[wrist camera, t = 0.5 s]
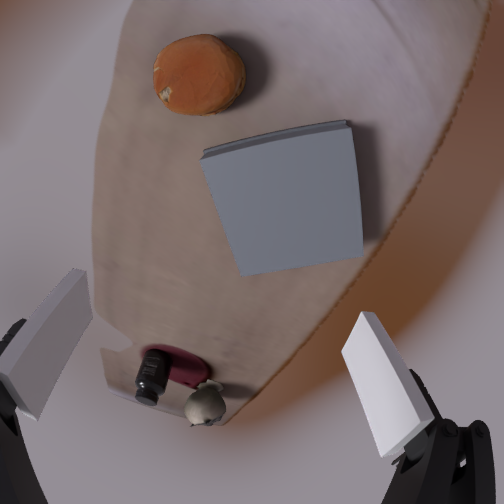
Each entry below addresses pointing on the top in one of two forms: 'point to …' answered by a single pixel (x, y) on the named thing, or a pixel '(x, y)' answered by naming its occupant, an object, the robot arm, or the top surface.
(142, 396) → the supplement bottle
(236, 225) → the stacking base
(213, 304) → the top surface
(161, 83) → the burger
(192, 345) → the top surface
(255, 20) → the top surface
